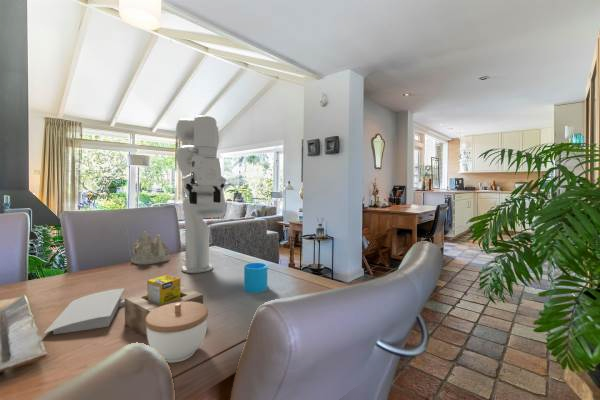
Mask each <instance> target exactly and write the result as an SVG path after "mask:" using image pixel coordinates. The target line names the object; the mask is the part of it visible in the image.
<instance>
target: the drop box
mask: <svg viewBox="0 0 600 400" xmlns="http://www.w3.org/2000/svg"><path fill="white" fill-rule="evenodd" d="M180 292H181V298H178V299H175V300H172V301H169V302H166V303H163V304H160V305H158V306H157V305H155V304H153V303H151V302H149V301H148V290H146V291H145V292H141V293H137V294H132V295H131V296H127V297H124V299H125V305H124V325H126V326H128V327H129V328H131V329H133V330H134V331H136V333H139V334H141V335H142V336H143V337H145V338H147V332H146V323H145V319H146V316H147V315H148V314H149V313H150V312H151V311H152V310H154V309H156V308H158V307H161V306H163V305H167V304H170V303H176V302H187V301H188V302H198V303H201V304H204V294H203V293H200V292H198V291H195V290H192V289H190V288H187V287H185V286H181V285H180Z"/></svg>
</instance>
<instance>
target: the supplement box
mask: <svg viewBox="0 0 600 400" xmlns="http://www.w3.org/2000/svg"><path fill="white" fill-rule="evenodd" d="M180 286H181V278H179V277H176V276H172V275H169V274H164V275H161V276H158V277H155V278H151V279H148V280H147V291H148V301H149V302H151V303H153V304H155V305H157V306H158V305H160V304H163V303H166V302H169V301H172V300H175V299H178V298H181V292H180Z"/></svg>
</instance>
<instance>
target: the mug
mask: <svg viewBox="0 0 600 400" xmlns="http://www.w3.org/2000/svg"><path fill="white" fill-rule="evenodd" d="M243 266H244V267H243V269H244V271H243V273H244V274H243V277H244V278H243V281H244V282H243V283H244V285H243V290H244V291H245V292H247V293H252V294H253V293H254V294H255V293H256V294H257V293H262V292H265V291H267V290H268V264H267V263H264V262H251V263H250V262H249V263H246V264H245V265H243Z"/></svg>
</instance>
